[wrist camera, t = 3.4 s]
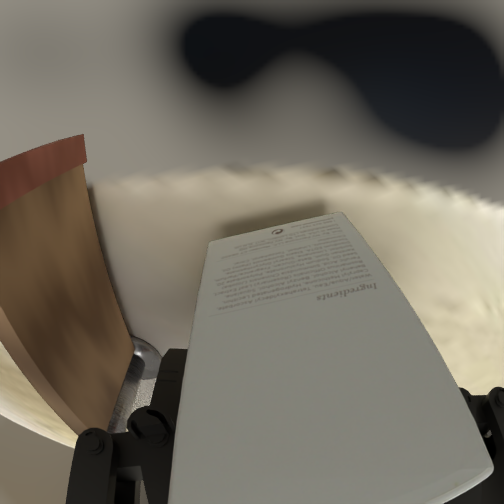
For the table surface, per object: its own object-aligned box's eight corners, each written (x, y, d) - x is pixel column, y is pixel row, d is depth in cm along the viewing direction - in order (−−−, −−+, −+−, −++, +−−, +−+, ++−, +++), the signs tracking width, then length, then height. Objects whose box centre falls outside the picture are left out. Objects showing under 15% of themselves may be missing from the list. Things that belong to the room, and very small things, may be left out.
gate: (136, 345, 17) (99, 455, 10) (110, 342, 17) (68, 445, 10) (83, 133, 11) (-62, 195, 3) (52, 141, 11) (-81, 205, 3)
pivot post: (117, 370, 19) (84, 468, 12) (98, 331, 17) (49, 440, 9) (169, 377, 19) (145, 485, 12) (154, 337, 17) (117, 463, 9)
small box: (207, 237, 12) (151, 542, 2) (343, 206, 11) (506, 470, 2) (253, 362, 15) (260, 547, 6) (351, 341, 15) (404, 519, 6)
